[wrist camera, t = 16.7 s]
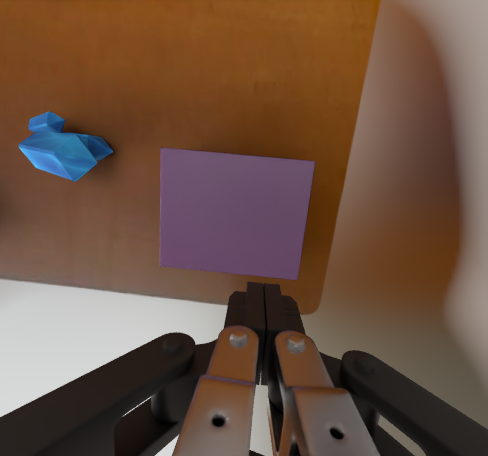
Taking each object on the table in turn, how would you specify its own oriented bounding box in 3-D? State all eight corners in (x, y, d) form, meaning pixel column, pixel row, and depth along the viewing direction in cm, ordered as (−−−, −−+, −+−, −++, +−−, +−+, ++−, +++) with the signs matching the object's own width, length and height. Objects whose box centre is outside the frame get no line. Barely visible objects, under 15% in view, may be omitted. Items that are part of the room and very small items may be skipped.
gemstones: (-10, 99, 29) (78, 114, 26) (62, 115, 37) (135, 128, 34) (-6, 167, 31) (77, 187, 28) (62, 168, 39) (131, 184, 36)
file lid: (161, 263, 32) (159, 266, 31) (163, 147, 28) (160, 147, 28) (296, 277, 31) (297, 280, 31) (313, 161, 28) (315, 161, 27)
